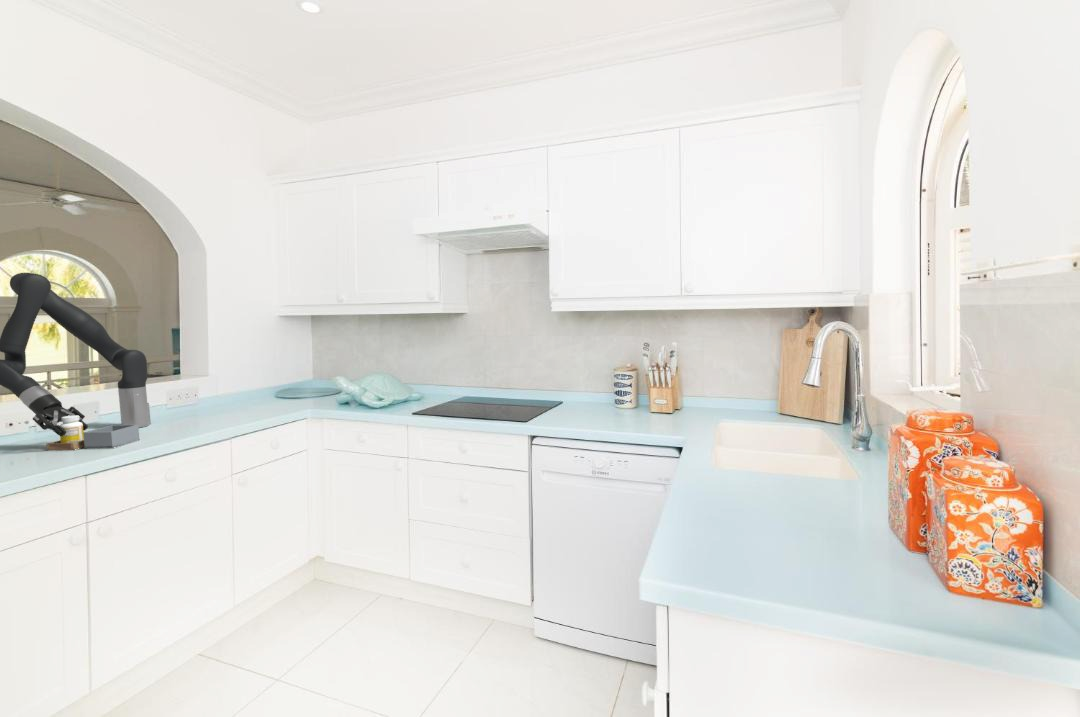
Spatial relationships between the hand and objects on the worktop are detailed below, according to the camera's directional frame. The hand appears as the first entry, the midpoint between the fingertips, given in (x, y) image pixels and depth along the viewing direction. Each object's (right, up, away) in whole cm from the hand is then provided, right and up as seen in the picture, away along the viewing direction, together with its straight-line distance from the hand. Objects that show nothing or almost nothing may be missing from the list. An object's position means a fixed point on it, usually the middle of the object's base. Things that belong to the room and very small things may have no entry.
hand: (75, 431), depth 180 cm
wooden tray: (-1, -6, 0) cm, 6 cm away
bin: (+11, -5, +3) cm, 12 cm away
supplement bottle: (-1, -6, +1) cm, 6 cm away
